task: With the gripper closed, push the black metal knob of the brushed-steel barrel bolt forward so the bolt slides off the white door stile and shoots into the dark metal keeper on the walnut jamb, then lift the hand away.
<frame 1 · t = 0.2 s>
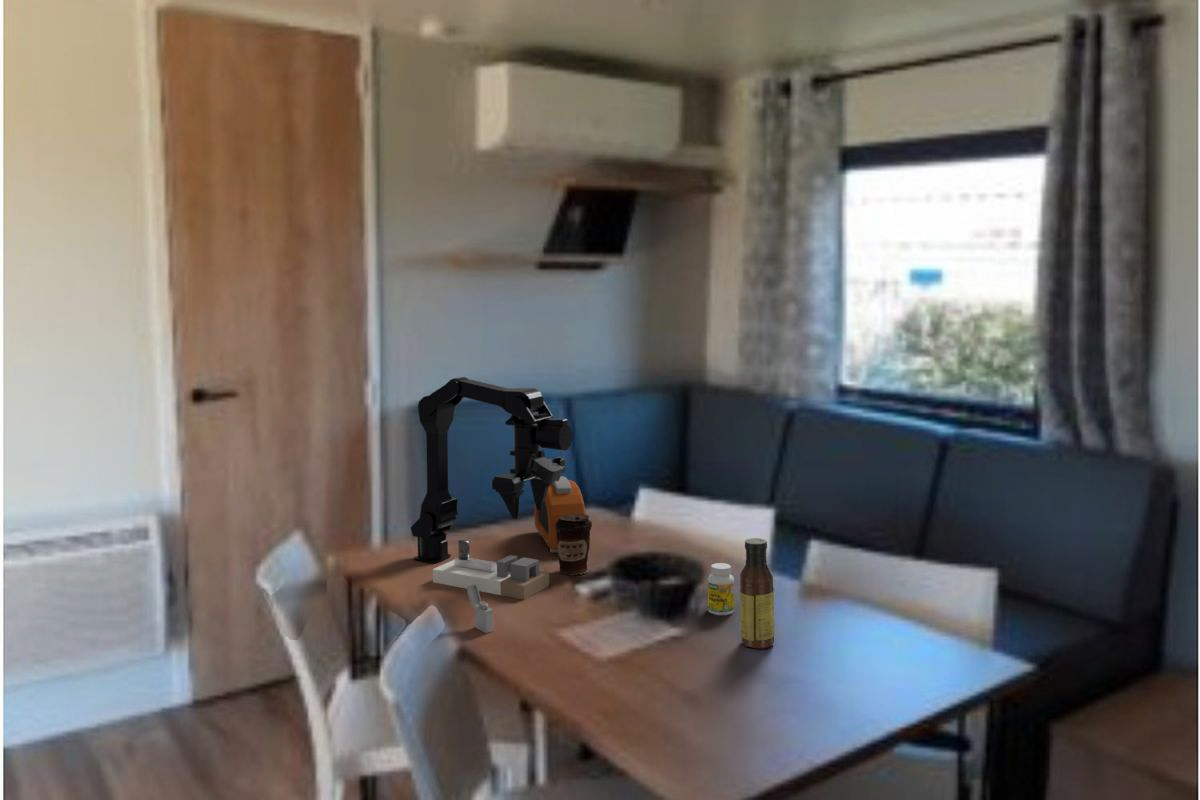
hand: (527, 514, 225), 14 cm above the table, fingers open, 9 cm apart
bolt: (475, 555, 222), point 6 cm above the table, slide at 0.0 cm
coffee cup: (573, 572, 230), on the table
orange tape measure: (559, 543, 253), on the table
sauce bottle: (756, 644, 187), on the table
door lock board: (490, 584, 221), on the table
supplement bottle: (720, 612, 204), on the table
lighter: (480, 627, 196), on the table
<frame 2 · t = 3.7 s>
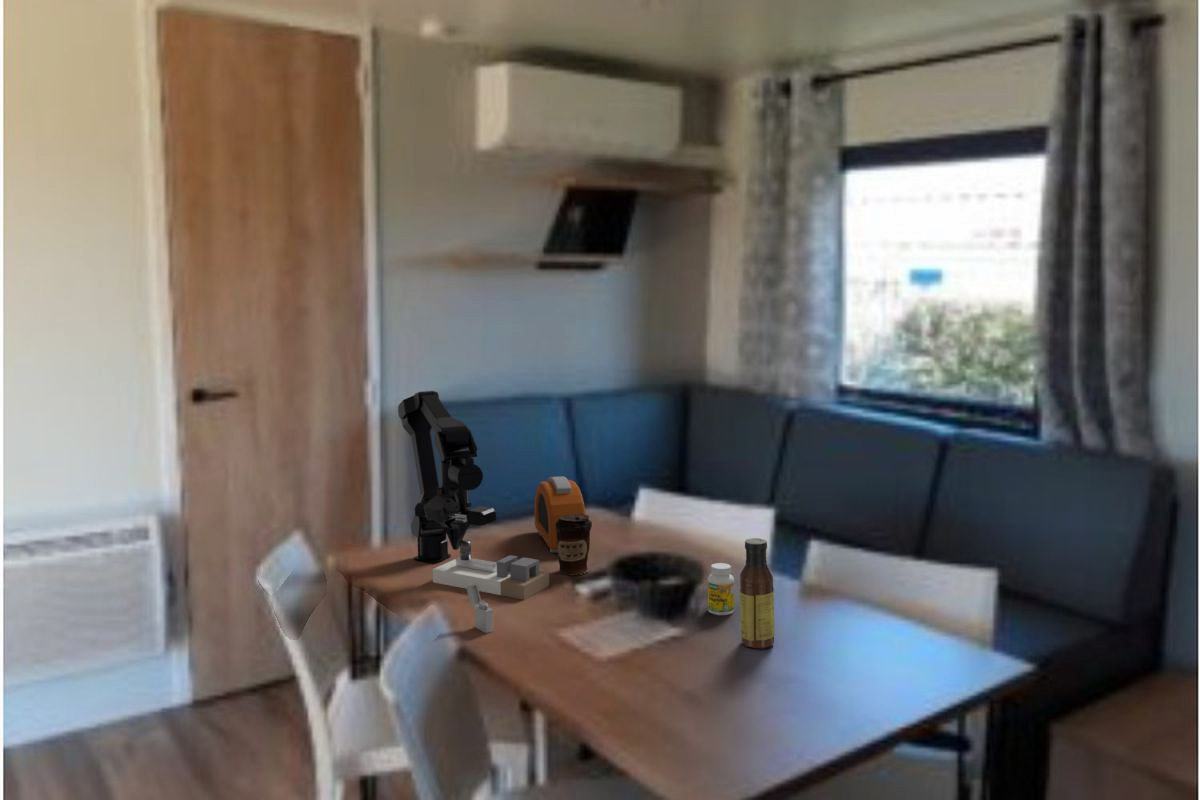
hand: (455, 549, 225), 7 cm above the table, fingers closed
bolt: (476, 555, 222), point 6 cm above the table, slide at 0.4 cm, touching gripper
everything else where it was.
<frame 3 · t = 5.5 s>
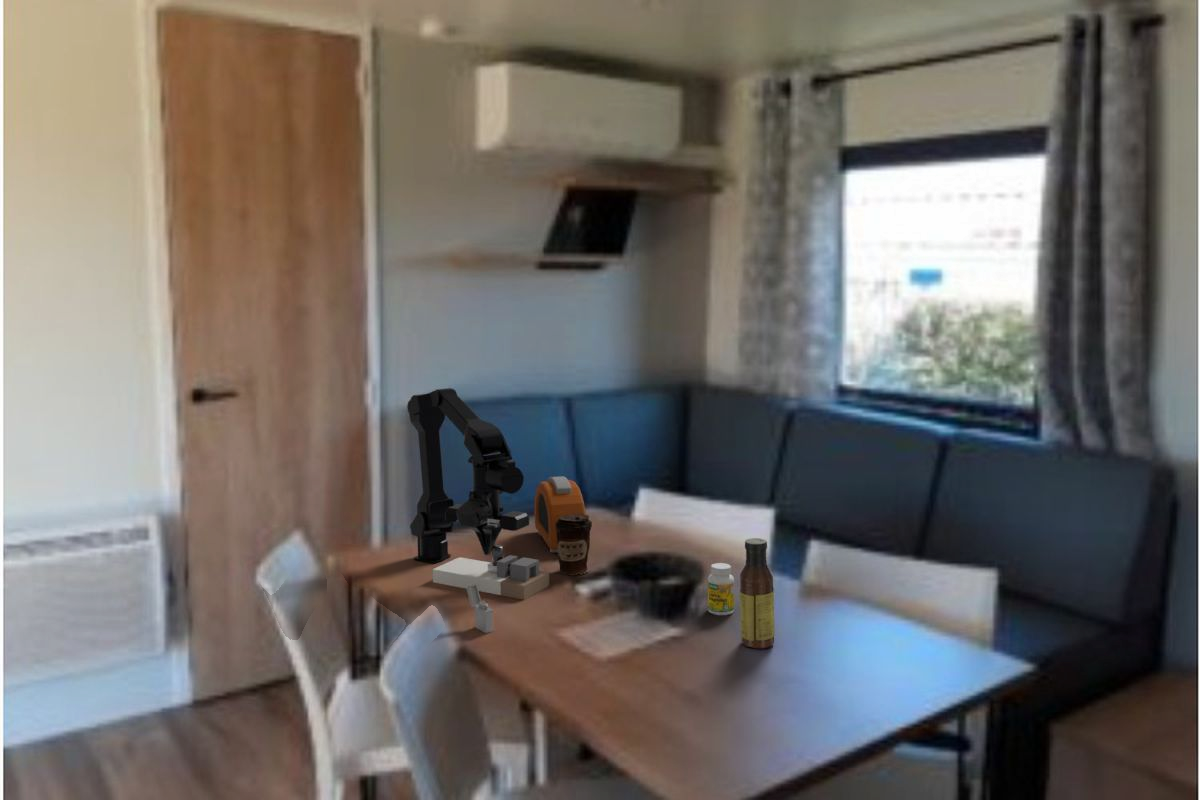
hand: (487, 554, 221), 7 cm above the table, fingers closed
bolt: (509, 561, 218), point 6 cm above the table, slide at 9.0 cm, touching gripper
everything else where it was.
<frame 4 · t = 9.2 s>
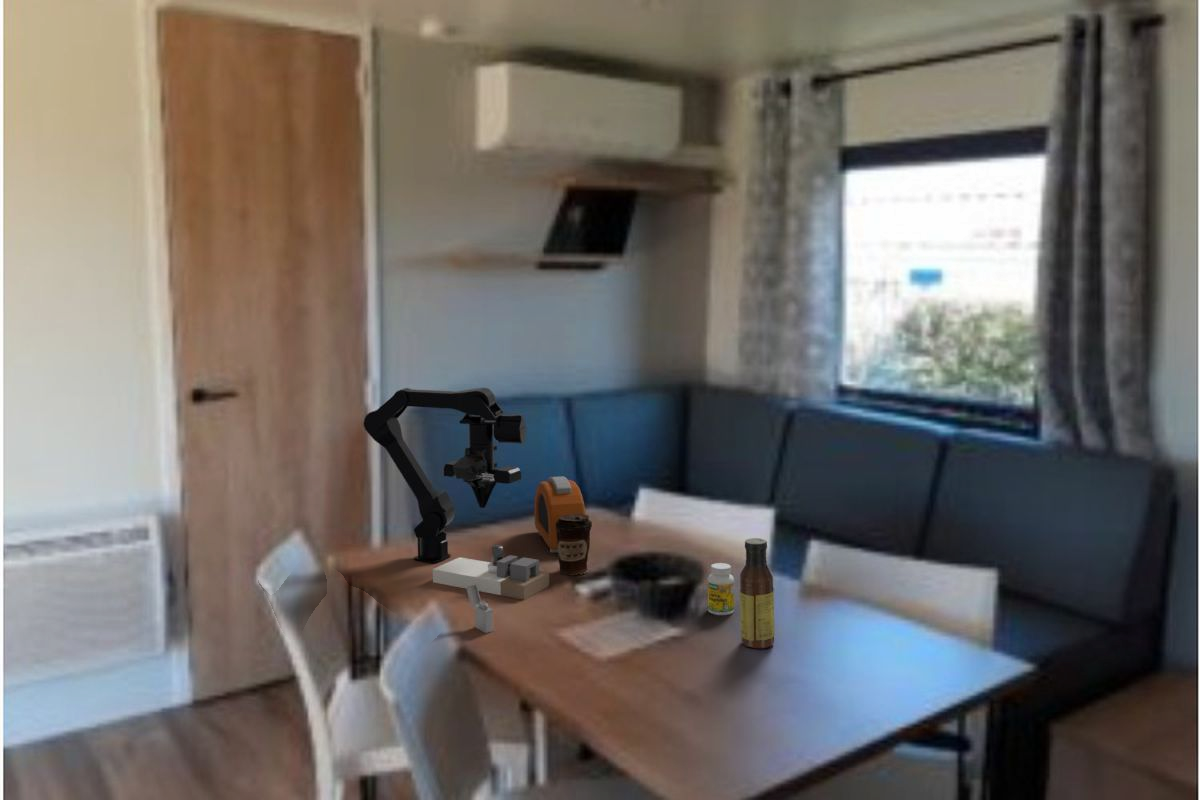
hand: (482, 507, 236), 13 cm above the table, fingers closed
bolt: (509, 561, 218), point 6 cm above the table, slide at 9.0 cm
everything else where it was.
at the end: bolt slide at 9.0 cm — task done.
